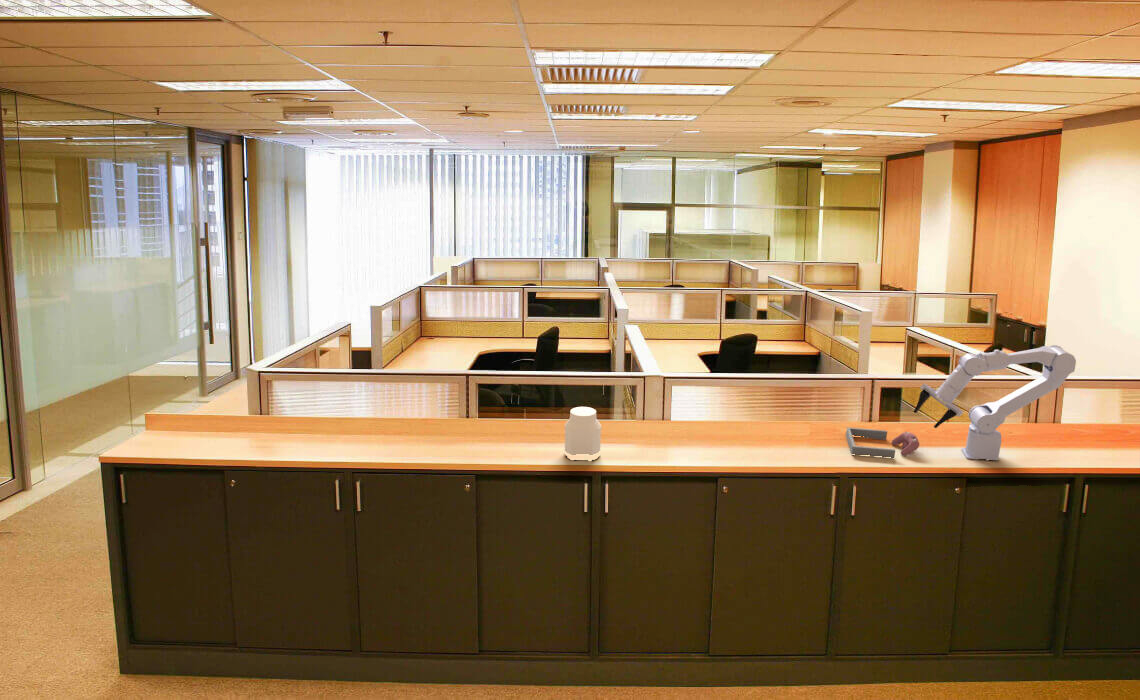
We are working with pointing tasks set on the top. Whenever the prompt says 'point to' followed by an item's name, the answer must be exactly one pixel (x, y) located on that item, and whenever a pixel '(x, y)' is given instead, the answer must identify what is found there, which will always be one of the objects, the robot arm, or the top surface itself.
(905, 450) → the video game controller
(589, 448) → the jar
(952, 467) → the top surface
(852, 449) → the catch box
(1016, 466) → the top surface
